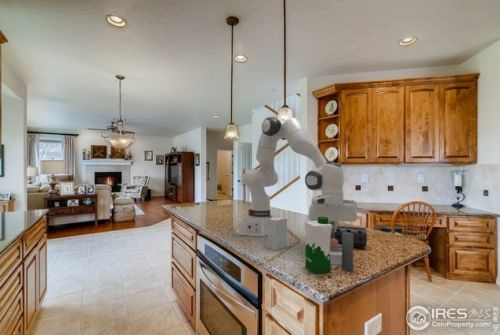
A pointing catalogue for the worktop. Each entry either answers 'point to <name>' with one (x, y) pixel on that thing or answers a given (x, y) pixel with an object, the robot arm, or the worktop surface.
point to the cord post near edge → (347, 251)
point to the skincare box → (277, 233)
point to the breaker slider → (334, 243)
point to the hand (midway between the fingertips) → (332, 231)
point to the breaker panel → (336, 256)
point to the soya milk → (318, 245)
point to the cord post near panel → (332, 231)
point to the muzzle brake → (358, 235)
